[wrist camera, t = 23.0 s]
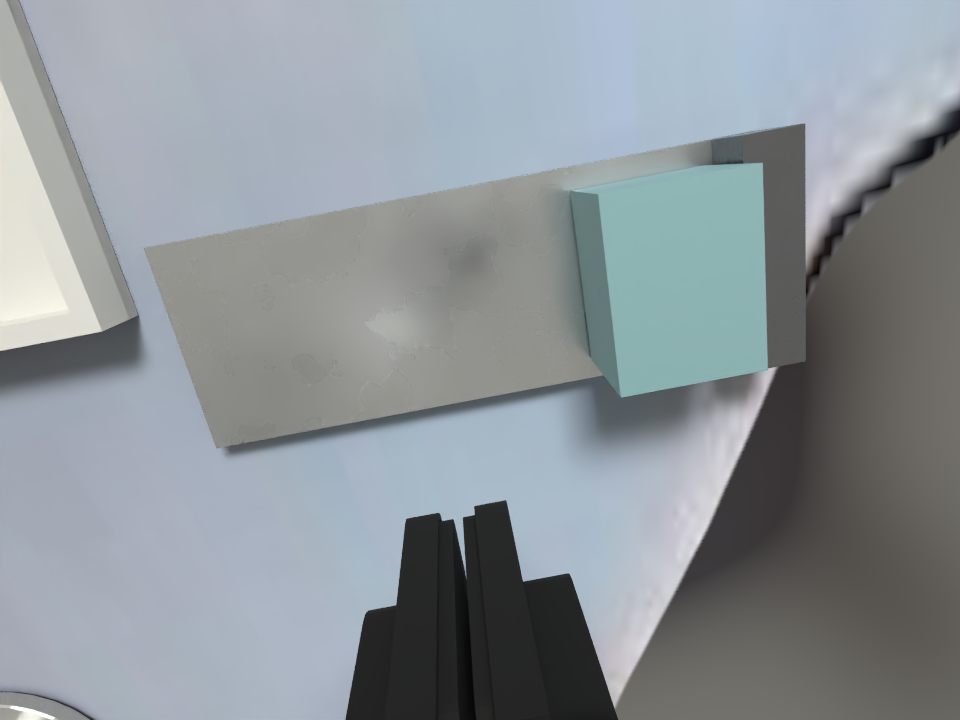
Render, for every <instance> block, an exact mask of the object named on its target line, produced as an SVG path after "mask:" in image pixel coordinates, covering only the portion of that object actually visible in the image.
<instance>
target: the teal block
mask: <svg viewBox="0 0 960 720" xmlns="http://www.w3.org/2000/svg"><path fill="white" fill-rule="evenodd" d="M570 194H571V202H572V210H573V218H574V226H575V234H576V241H577V249H578V257H579V265H580V273H581V281H582V289H583V297H584V305H585V313H586V320H587V328H588V336H589V344H590V352H591V360H592V361H593V362H594V364H595V365H596V366H597V368H598V369H599V370H600V371H601V373H602V374H603V375H604V377H605V378H606V379H607V380H608V382H609V383H610V384H611V386H612V387H613V388H614V390H615V391H616V392H617V393H618V395H619V396H620V397H621V398H622V397H627V396H633V395H638V394H643V393H648V392H654V391H659V390H664V389H670V388H675V387H680V386H686V385H691V384H696V383H702V382H707V381H712V380H718V379H723V378H728V377H734V376H739V375H744V374H749V373H755V372H760V371H765V370H768V356H767V315H766V274H765V233H764V192H763V163H747V164H725V165H703V166H698V167H693V168H688V169H682V170H677V171H672V172H667V173H661V174H656V175H651V176H646V177H641V178H635V179H630V180H625V181H620V182H614V183H609V184H604V185H599V186H593V187H588V188H583V189H578V190H572V191H570Z"/></svg>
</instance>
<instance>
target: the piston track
mask: <svg viewBox="0 0 960 720" xmlns="http://www.w3.org/2000/svg"><path fill="white" fill-rule="evenodd" d="M747 163H763V192H764V233H765V274H766V315H767V356H768V368H772V367H777V366H782V365H788V364H793V363H798V362H804V361H806V316H805V315H806V313H805V312H806V275H805V124H798V125H791V126H785V127H778V128H771V129H765V130H758V131H752V132H746V133H741V134H736V135H731V136H726V137H720V138H715V139H710V140H705V141H699V142H694V143H689V144H684V145H679V146H673V147H668V148H663V149H658V150H652V151H647V152H642V153H637V154H631V155H626V156H621V157H616V158H611V159H605V160H600V161H595V162H590V163H584V164H579V165H574V166H569V167H564V168H558V169H553V170H548V171H543V172H537V173H532V174H527V175H522V176H517V177H511V178H506V179H501V180H496V181H490V182H485V183H480V184H475V185H469V186H464V187H459V188H454V189H449V190H443V191H438V192H433V193H428V194H422V195H417V196H412V197H407V198H402V199H396V200H391V201H386V202H381V203H375V204H370V205H365V206H360V207H354V208H349V209H344V210H339V211H334V212H328V213H323V214H318V215H313V216H307V217H302V218H297V219H292V220H287V221H281V222H276V223H271V224H266V225H260V226H255V227H250V228H245V229H239V230H234V231H229V232H224V233H219V234H213V235H208V236H203V237H198V238H192V239H187V240H182V241H177V242H172V243H166V244H161V245H156V246H152V247H148V248H144V250H145V253H146V256H147V258H148V261H149V264H150V267H151V269H152V272H153V275H154V278H155V280H156V283H157V286H158V289H159V291H160V294H161V297H162V300H163V302H164V305H165V308H166V311H167V313H168V316H169V319H170V322H171V324H172V327H173V330H174V333H175V335H176V338H177V341H178V344H179V346H180V349H181V352H182V355H183V357H184V360H185V363H186V366H187V368H188V371H189V374H190V377H191V379H192V382H193V385H194V388H195V390H196V393H197V396H198V399H199V402H200V404H201V407H202V410H203V413H204V415H205V418H206V421H207V424H208V426H209V429H210V432H211V435H212V437H213V440H214V443H215V446H216V448H221V447H227V446H232V445H237V444H242V443H248V442H253V441H258V440H264V439H269V438H274V437H280V436H285V435H290V434H295V433H301V432H306V431H311V430H317V429H322V428H327V427H333V426H338V425H343V424H349V423H354V422H359V421H364V420H370V419H375V418H380V417H386V416H391V415H396V414H402V413H407V412H412V411H418V410H423V409H428V408H433V407H439V406H444V405H449V404H455V403H460V402H465V401H471V400H476V399H481V398H487V397H492V396H497V395H502V394H508V393H513V392H518V391H524V390H529V389H534V388H540V387H545V386H550V385H556V384H561V383H566V382H571V381H577V380H582V379H587V378H593V377H598V376H603V374H602V373H601V371H600V370H599V369H598V368H597V366H596V365H595V364H594V362H593V361H592V360H591V352H590V344H589V336H588V328H587V320H586V313H585V305H584V297H583V289H582V281H581V273H580V265H579V257H578V249H577V241H576V234H575V226H574V218H573V210H572V202H571V194H570V191H572V190H578V189H583V188H588V187H593V186H599V185H604V184H609V183H614V182H620V181H625V180H630V179H635V178H641V177H646V176H651V175H656V174H661V173H667V172H672V171H677V170H682V169H688V168H693V167H698V166H703V165H725V164H747Z"/></svg>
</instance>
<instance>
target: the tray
mask: <svg viewBox="0 0 960 720" xmlns="http://www.w3.org/2000/svg"><path fill="white" fill-rule="evenodd" d="M136 316H138V313H137V310H136V308H135V305H134V302H133V300H132V297H131V295H130V292H129V289H128V287H127V284H126V281H125V279H124V276H123V274H122V271H121V268H120V266H119V263H118V260H117V258H116V255H115V252H114V250H113V247H112V245H111V242H110V239H109V237H108V234H107V231H106V229H105V226H104V224H103V221H102V218H101V216H100V213H99V210H98V208H97V205H96V202H95V200H94V197H93V195H92V192H91V189H90V187H89V184H88V181H87V179H86V176H85V174H84V171H83V168H82V166H81V163H80V160H79V158H78V155H77V152H76V150H75V147H74V145H73V142H72V139H71V137H70V134H69V131H68V129H67V126H66V124H65V121H64V118H63V116H62V113H61V110H60V108H59V105H58V102H57V100H56V97H55V95H54V92H53V89H52V87H51V84H50V81H49V79H48V76H47V74H46V71H45V68H44V66H43V63H42V60H41V58H40V55H39V53H38V50H37V47H36V45H35V42H34V39H33V37H32V34H31V31H30V29H29V26H28V24H27V21H26V18H25V16H24V13H23V10H22V8H21V5H20V3H19V0H0V351H3V350H8V349H13V348H18V347H24V346H29V345H34V344H39V343H45V342H50V341H55V340H60V339H66V338H71V337H76V336H81V335H87V334H92V333H97V332H102V331H105V330H107V329H109V328H111V327H114V326H116V325H118V324H120V323H122V322H125V321H127V320H129V319H131V318H134V317H136Z"/></svg>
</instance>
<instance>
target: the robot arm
mask: <svg viewBox="0 0 960 720" xmlns="http://www.w3.org/2000/svg"><path fill="white" fill-rule="evenodd" d="M474 509H475V515H473V516H468V517H463V527H464V543H465V559H466V575H467V579H466V575H465V570H464V565H463V561H462V556H461V551H460V546H459V542H458V537H457V532H456V528H455V523H454V520H453V519H452V520H446V521H442V519H441V516H440V514H439V513H435V514H430V515H424V516H419V517H413V518H408V519H406V523H405V531H404V541H403V550H402V559H401V568H400V578H399V587H398V596H397V605H396V606H391V607H386V608H380V609H375V610H369V611H368V612H367V613H366V614H365V618H364V621H363V626H362V632H361V637H360V643H359V648H358V654H357V659H356V665H355V670H354V676H353V681H352V687H351V693H350V698H349V704H348V709H347V715H346V720H618V718H617V715H616V712H615V709H614V706H613V703H612V700H611V697H610V694H609V691H608V688H607V684H606V681H605V678H604V675H603V672H602V669H601V666H600V663H599V660H598V657H597V654H596V651H595V648H594V645H593V642H592V639H591V636H590V633H589V630H588V627H587V624H586V621H585V618H584V615H583V612H582V609H581V605H580V602H579V599H578V596H577V593H576V590H575V587H574V584H573V581H572V579H571V576H570V575H569V573H568V574H563V575H557V576H552V577H547V578H541V579H536V580H530V581H525V582H523V580H522V575H521V570H520V565H519V561H518V556H517V551H516V546H515V541H514V536H513V531H512V526H511V521H510V516H509V511H508V506H507V502H506V500H505V501H500V502H495V503H489V504H484V505H478V506H475V507H474ZM0 720H90V719H89V718H87V717H85V716H84V715H82V714H81V713H79V712H77V711H76V710H74V709H72V708H70V707H67V706H65V705H63V704H60V703H58V702H56V701H53V700H49V699H46V698H42V697H38V696H35V695H29V694H22V693H14V692H0Z"/></svg>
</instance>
